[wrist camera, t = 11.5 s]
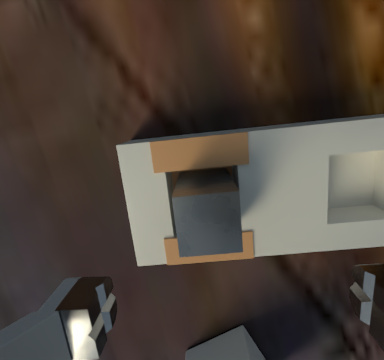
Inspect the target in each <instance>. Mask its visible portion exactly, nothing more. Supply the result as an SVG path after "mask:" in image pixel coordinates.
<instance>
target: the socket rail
mask: <svg viewBox="0 0 384 360" xmlns="http://www.w3.org/2000/svg"><path fill="white" fill-rule="evenodd" d="M116 147H117V153H118V158H119V164H120V170H121V175H122V181H123V186H124V192H125V198H126V203H127V209H128V215H129V220H130V226H131V231H132V237H133V243H134V248H135V254H136V260H137V265H138V266H146V265H159V264H167V265H176V264H188V263H200V262H213V261H225V260H237V259H250V258H254V257H257V256H270V255H282V254H294V253H306V252H319V251H331V250H343V249H356V248H368V247H380V246H384V114H377V115H367V116H358V117H348V118H339V119H329V120H320V121H310V122H301V123H291V124H281V125H272V126H262V127H253V128H243V129H234V130H224V131H215V132H205V133H196V134H186V135H177V136H167V137H158V138H148V139H139V140H130V141H127V142H124V143H122V144H119V145H116ZM216 168H227V170H228V172H229V174H230V175H231V177H232V179H233V181H234V182H235V184H236V186H237V188H238V190H239V193H240V209H241V225H242V241H243V252H240V253H228V254H216V255H204V256H192V257H179V249H178V242H177V234H176V227H175V219H174V211H173V204H172V195H173V192H174V189H175V185H176V182H177V179H178V176H179V173H180V172H186V171H196V170H206V169H216Z"/></svg>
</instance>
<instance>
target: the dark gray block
mask: <svg viewBox="0 0 384 360" xmlns="http://www.w3.org/2000/svg"><path fill="white" fill-rule="evenodd" d="M172 204H173V211H174V219H175V227H176V234H177V242H178V249H179V257H192V256H204V255H216V254H228V253H240V252H243V241H242V225H241V209H240V193H239V190H238V188H237V186H236V184H235V182H234V181H233V179H232V177H231V175H230V174H229V172H228V170H227V168H216V169H206V170H196V171H186V172H180V173H179V176H178V179H177V182H176V185H175V189H174V192H173V195H172Z"/></svg>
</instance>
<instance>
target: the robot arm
mask: <svg viewBox="0 0 384 360" xmlns="http://www.w3.org/2000/svg"><path fill="white" fill-rule="evenodd" d="M351 277H352V278H353V280H354V281H355V283H354V284H353V285H352V286H351V287H350V301H351V305H352V308H353V310H354V312H355V314H356V315H357V316H358V318H359V319H360V320H361V321H363V322H365V323H366V324H368V325H370V328H369V332H370V334H371V335H372V336H373V338H374V339H375V340H376V342H377V343H378V344H379V346H380V347H381V348H382V350H383V351H384V264H367V265H354V266H353V268H352V270H351ZM113 287H114V286H113V282H112V279H111V278H110V277H109V276H108V277H82V278H81V277H74V278H67V279H65V280H64V281H63V282H62V283H61V284H60V286H59V287H58V288H57V289H56V290H55V291H54V293H53V294H52V295H51V296H50V297H49V299H48V300H47V301H46V302H45V303H44V304H43V306H42V307H41V308H40V309H39V310H38V311H37V312H32V313H30V314H28V315H27V316H25V317H23V318H21V319H20V320H18V321H16V322H15V323H13V324H11V325H9V326H8V327H6V328H4V329H2V330H1V331H0V360H89V359H99V358H100V355H101V353H102V351H103V349H104V346H105V344H106V342H107V336H106V333H107V332H108V331H109V330H110V329H112V328H113V325H114V323H115V320H116V314H117V302H116V298H115V297H114V296H113V295H112V294H111V291H112V289H113Z"/></svg>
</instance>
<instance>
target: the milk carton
mask: <svg viewBox="0 0 384 360" xmlns="http://www.w3.org/2000/svg"><path fill="white" fill-rule="evenodd" d="M185 360H266V359H265V358H264V356H263V355H262V353H261V352H260V350H259V349H258V347H257V346H256V344H255V343H254V341H253V340H252V338H251V337H250V335H249V333H248V332H247V330H246V329H245V328H244V326H243V325H241V326H239V327H237V328H235V329H233V330H230V331H228V332H226V333H224V334H222V335H220V336H217V337H215V338H213V339H211V340H209V341H207V342H204V343H202V344H200V345H198V346H196V347H194V348H191V349H189V350H187V351H186V357H185Z"/></svg>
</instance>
